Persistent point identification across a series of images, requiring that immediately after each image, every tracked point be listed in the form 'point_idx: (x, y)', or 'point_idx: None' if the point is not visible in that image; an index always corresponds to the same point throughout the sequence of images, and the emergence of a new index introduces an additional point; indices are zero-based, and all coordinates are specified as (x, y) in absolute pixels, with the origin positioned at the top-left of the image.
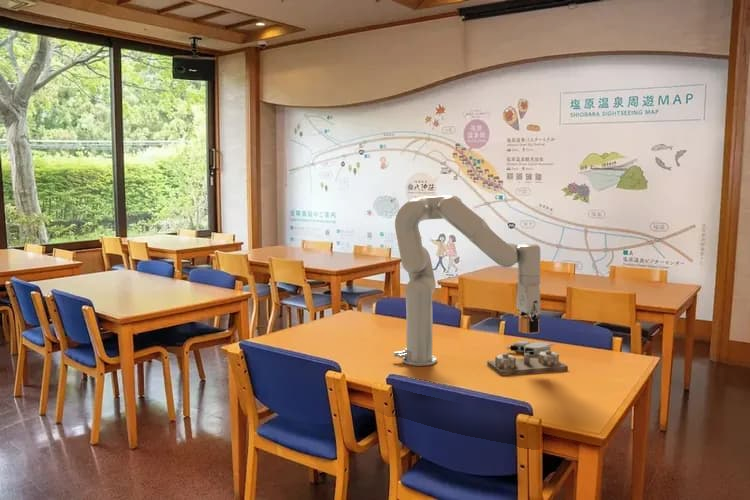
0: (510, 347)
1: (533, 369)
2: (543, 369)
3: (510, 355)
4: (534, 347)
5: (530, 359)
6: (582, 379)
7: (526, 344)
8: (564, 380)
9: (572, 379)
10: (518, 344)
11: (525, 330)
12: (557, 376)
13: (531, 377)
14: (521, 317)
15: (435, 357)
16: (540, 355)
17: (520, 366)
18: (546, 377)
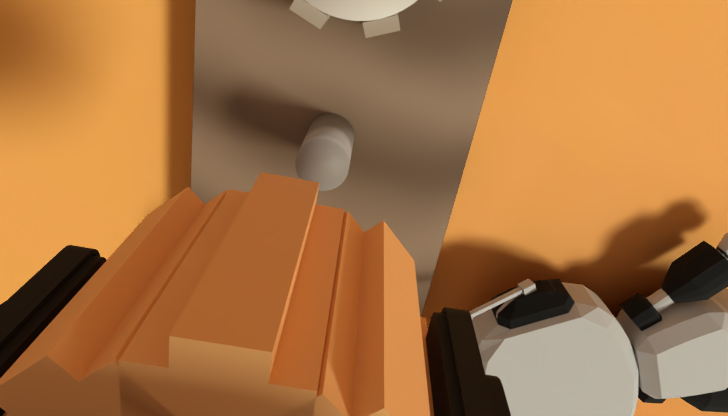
0: (724, 255)
1: (196, 99)
2: (194, 174)
3: (383, 8)
4: (513, 349)
5: (411, 220)
6: (19, 284)
7: (643, 361)
8: (12, 184)
9: (25, 237)
10: (694, 320)
11: (144, 225)
12: (97, 195)
13: (110, 10)
14: (260, 410)
15: None
16: None
17: (280, 37)
18: (90, 116)
